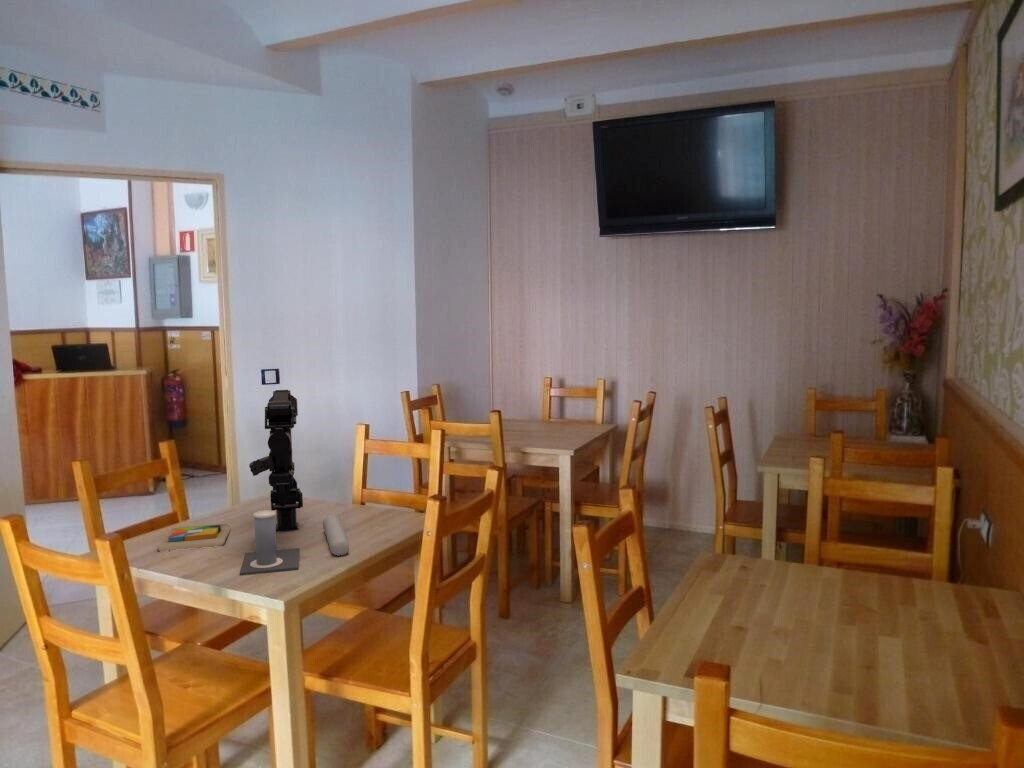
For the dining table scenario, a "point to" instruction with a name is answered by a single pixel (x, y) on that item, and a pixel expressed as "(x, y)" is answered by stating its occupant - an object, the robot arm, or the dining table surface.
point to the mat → (285, 562)
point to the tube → (335, 535)
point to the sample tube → (265, 537)
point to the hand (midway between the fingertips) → (283, 502)
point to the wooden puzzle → (195, 537)
